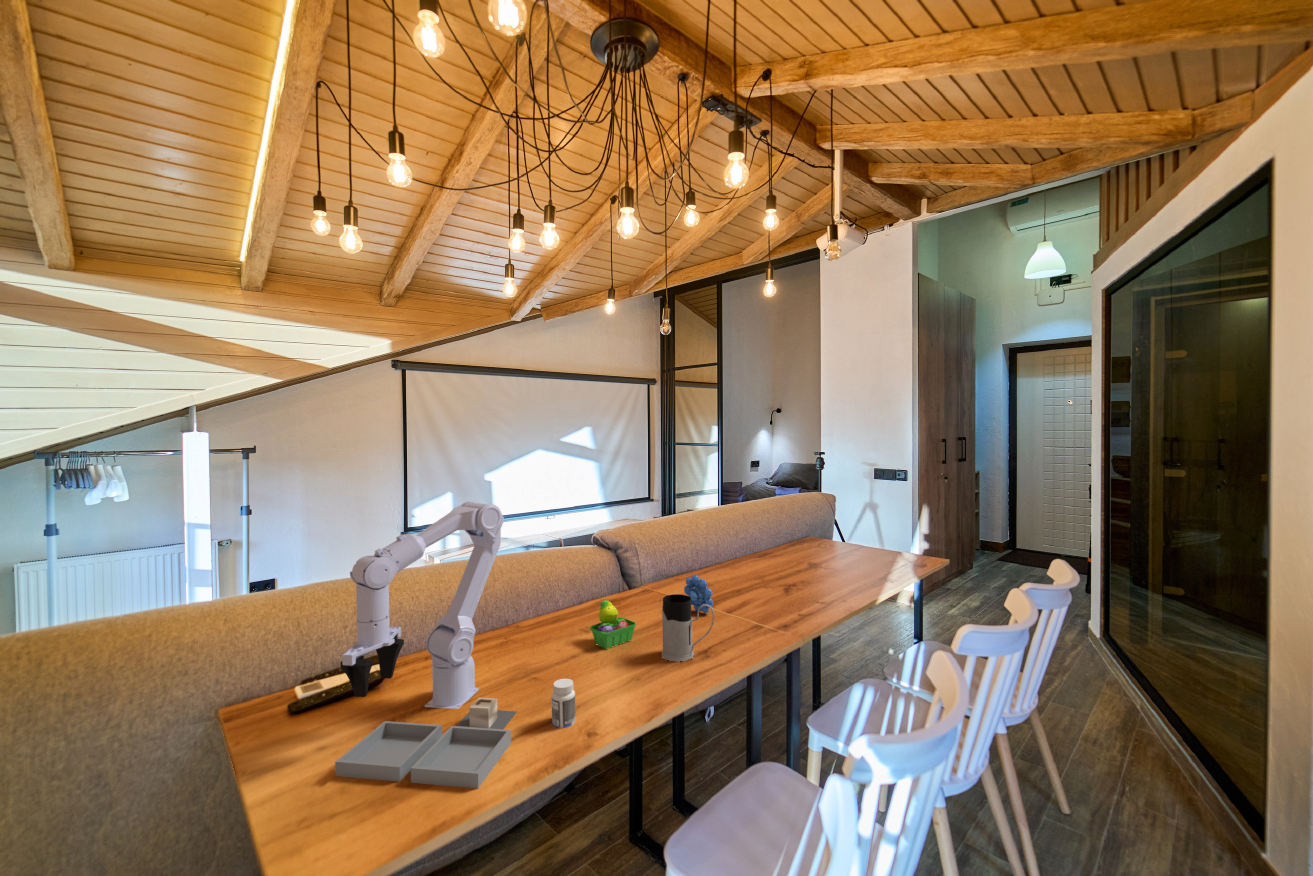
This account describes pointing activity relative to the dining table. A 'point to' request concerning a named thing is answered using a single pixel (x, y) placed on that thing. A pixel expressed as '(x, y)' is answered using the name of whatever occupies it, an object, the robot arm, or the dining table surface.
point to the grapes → (698, 593)
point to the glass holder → (678, 627)
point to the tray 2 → (461, 757)
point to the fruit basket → (611, 627)
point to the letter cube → (483, 712)
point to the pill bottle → (563, 703)
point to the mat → (499, 723)
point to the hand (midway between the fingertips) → (374, 686)
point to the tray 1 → (388, 751)
